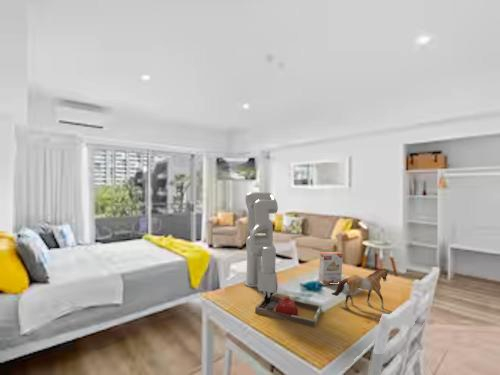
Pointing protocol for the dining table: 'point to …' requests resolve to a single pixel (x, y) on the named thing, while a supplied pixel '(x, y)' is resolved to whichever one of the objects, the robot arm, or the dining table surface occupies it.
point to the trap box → (292, 318)
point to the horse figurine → (363, 285)
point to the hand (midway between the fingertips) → (267, 303)
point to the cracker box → (330, 267)
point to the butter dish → (287, 306)
